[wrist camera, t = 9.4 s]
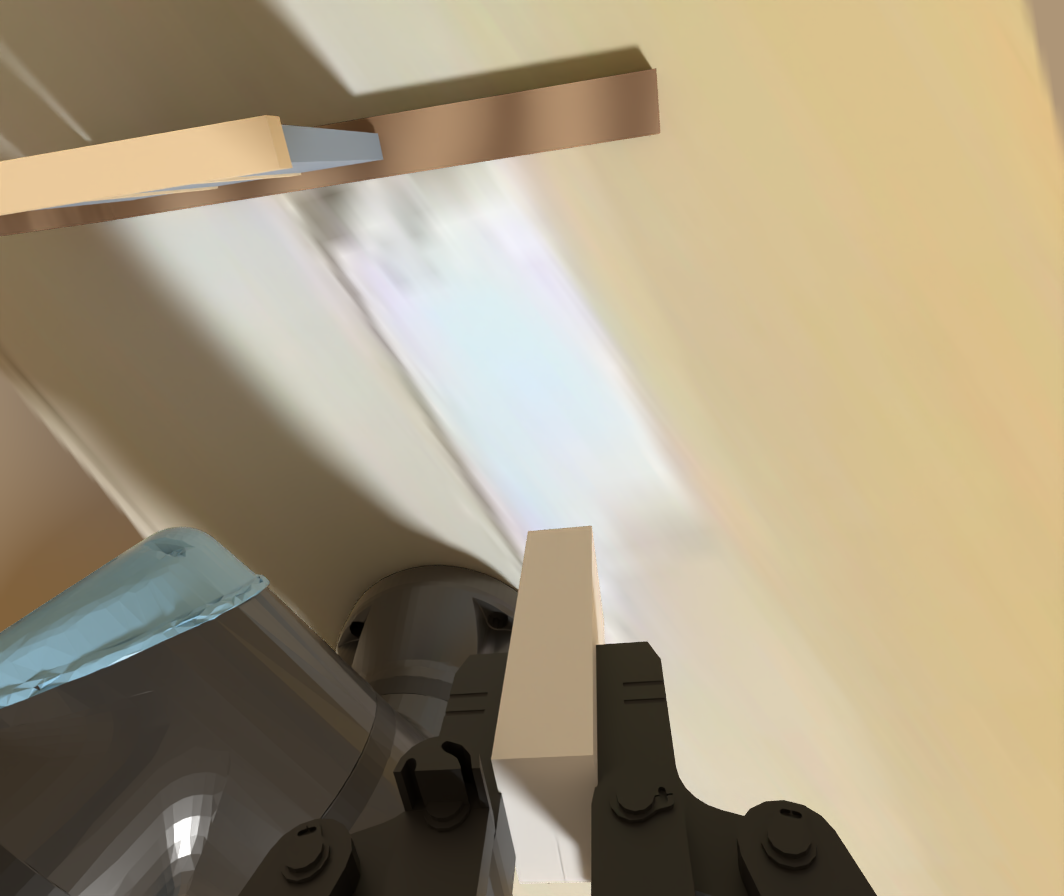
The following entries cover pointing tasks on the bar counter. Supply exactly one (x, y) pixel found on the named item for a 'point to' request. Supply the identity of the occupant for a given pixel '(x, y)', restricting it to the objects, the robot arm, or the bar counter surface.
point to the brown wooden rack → (425, 144)
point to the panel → (178, 163)
